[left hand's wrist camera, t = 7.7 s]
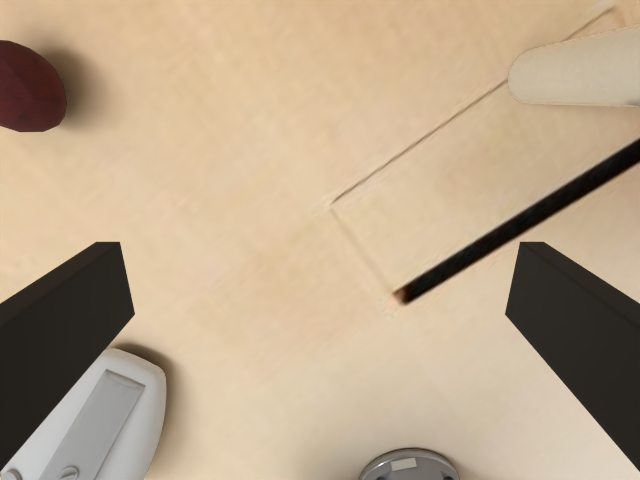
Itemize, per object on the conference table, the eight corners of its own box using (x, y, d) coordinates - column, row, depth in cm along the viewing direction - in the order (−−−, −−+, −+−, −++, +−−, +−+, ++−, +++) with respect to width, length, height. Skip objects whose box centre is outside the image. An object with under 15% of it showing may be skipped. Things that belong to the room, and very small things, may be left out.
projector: (218, 454, 54) (183, 576, 40) (79, 487, 56) (2, 612, 42) (148, 332, 46) (76, 430, 32) (-9, 376, 49) (-137, 485, 35)
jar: (496, 81, 36) (668, 65, 18) (536, 35, 34) (764, -30, 17) (531, 114, 37) (724, 129, 19) (571, 71, 36) (818, 44, 18)
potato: (39, 29, 34) (-28, 12, 28) (100, 103, 36) (52, 104, 30) (-13, 77, 36) (-88, 72, 29) (49, 145, 38) (-8, 155, 31)
